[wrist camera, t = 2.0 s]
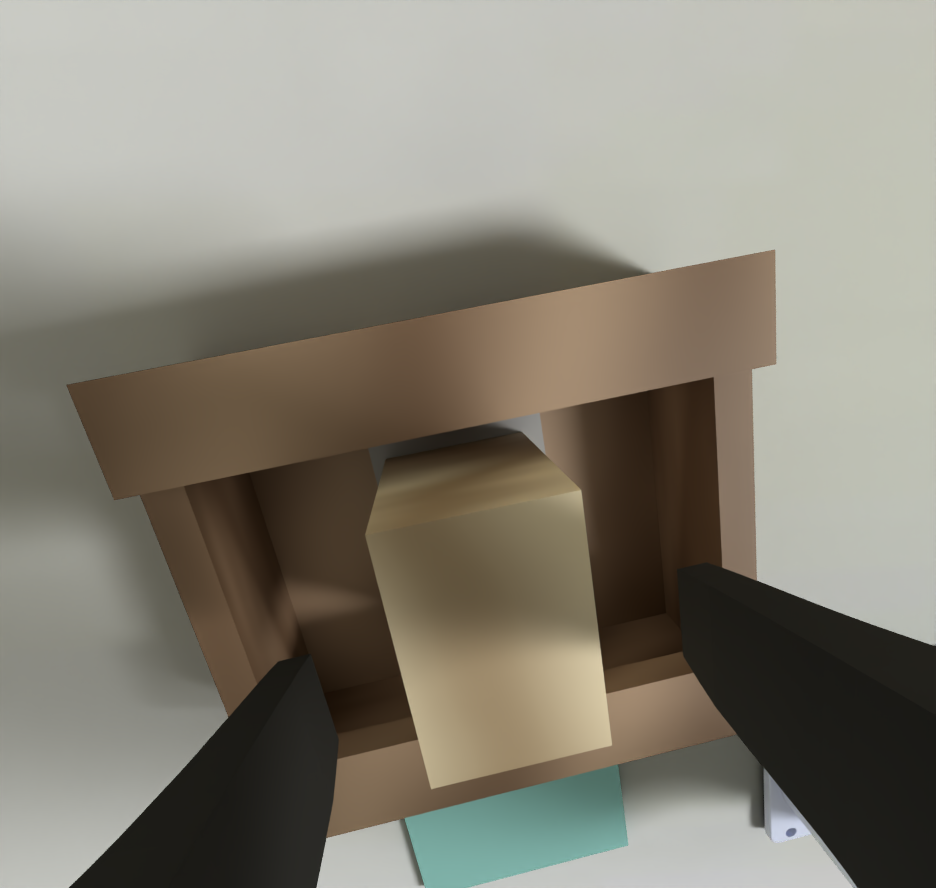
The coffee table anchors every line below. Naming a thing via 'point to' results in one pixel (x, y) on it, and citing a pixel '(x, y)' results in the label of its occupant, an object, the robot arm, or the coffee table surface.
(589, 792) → the teal mat
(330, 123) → the coffee table surface
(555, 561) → the maple block
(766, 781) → the robot arm
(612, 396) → the slotted box
